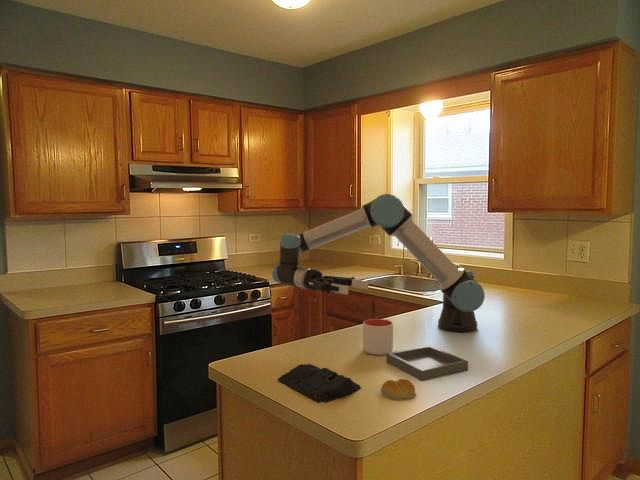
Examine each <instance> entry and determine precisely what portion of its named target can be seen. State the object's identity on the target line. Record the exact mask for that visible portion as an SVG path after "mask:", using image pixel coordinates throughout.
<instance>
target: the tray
mask: <svg viewBox="0 0 640 480" xmlns="http://www.w3.org/2000/svg"><path fill="white" fill-rule="evenodd" d="M385 356H386V361H385V362H386V363H387V364H389V365H390V366H392V367H395V368H397V369H398V370H400V371H402V372H404V373H406V374H407V375H409V376H411V377H413V378H415V379H417V380H419V381H421V382H423V381H429V380H433V379H437V378H441V377H447V376H451V375H454V374H455V375H456V374H460V373H464V372H468V370H469V361H468V360H466V359H464V358H461V357H459V356H457V355H454V354H452V353H449V352H447V351H445V350H442V349H441V348H438V347H435V346H432V345H431V344H430V345H424V346H423V345H422V346H418V347H413V348H409V349H408V348H407V349H401V350H397V351H391V352H390V353H387V354H386V355H385Z"/></svg>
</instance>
